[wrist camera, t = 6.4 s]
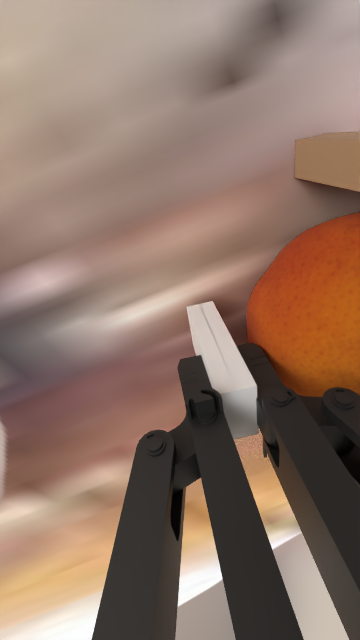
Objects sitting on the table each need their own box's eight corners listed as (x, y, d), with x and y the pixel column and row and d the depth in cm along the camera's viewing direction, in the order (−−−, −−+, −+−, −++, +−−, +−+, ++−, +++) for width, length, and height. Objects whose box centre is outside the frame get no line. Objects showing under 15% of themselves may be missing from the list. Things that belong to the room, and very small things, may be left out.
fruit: (322, 150, 14) (499, 159, 7) (427, 259, 18) (602, 329, 11) (194, 317, 18) (232, 423, 11) (304, 376, 22) (381, 480, 15)
